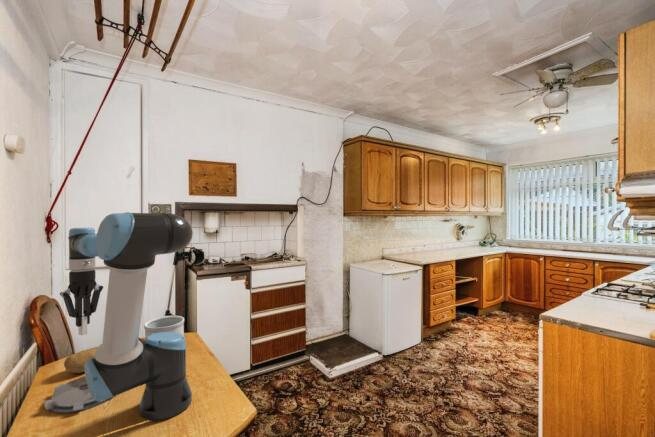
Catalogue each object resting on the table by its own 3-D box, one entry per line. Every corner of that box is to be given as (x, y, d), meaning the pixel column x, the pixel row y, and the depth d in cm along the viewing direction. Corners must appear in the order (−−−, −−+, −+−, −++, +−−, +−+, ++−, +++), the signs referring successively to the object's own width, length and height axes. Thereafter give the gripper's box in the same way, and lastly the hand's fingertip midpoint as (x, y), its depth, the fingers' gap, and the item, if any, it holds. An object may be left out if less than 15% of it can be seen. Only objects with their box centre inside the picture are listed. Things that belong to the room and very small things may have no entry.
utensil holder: (157, 375, 117) (157, 330, 117) (137, 365, 125) (136, 323, 125) (191, 359, 129) (191, 319, 129) (171, 351, 137) (171, 313, 137)
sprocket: (56, 420, 89) (56, 397, 89) (36, 398, 100) (36, 377, 100) (134, 386, 107) (134, 367, 107) (110, 371, 118) (110, 353, 118)
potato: (112, 364, 126) (112, 345, 126) (72, 381, 113) (72, 359, 113) (97, 360, 130) (97, 341, 130) (58, 375, 117) (57, 355, 117)
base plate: (120, 400, 101) (120, 398, 101) (42, 421, 90) (42, 418, 90) (122, 375, 117) (122, 373, 117) (56, 390, 107) (56, 388, 107)
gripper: (66, 273, 103) (66, 342, 103) (107, 267, 115) (108, 329, 115) (55, 272, 106) (55, 338, 107) (96, 266, 118) (96, 326, 118)
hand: (82, 334), depth 111 cm, fingers closed
